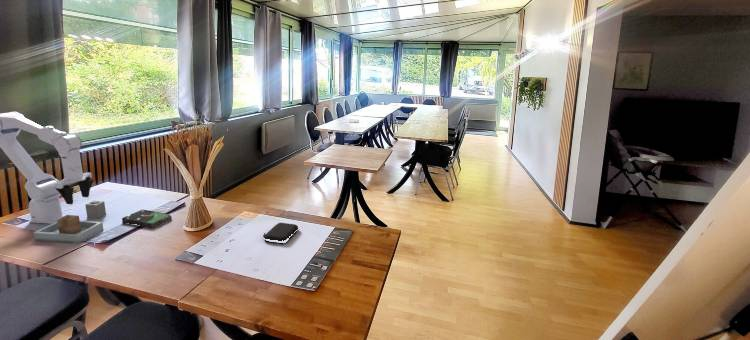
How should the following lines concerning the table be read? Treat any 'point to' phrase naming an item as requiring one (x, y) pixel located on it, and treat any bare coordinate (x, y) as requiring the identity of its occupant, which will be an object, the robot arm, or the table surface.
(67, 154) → the robot arm
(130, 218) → the disk drive
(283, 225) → the carrying case or bag
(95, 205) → the grey button block
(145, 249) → the table surface
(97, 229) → the tray
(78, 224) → the walnut block
